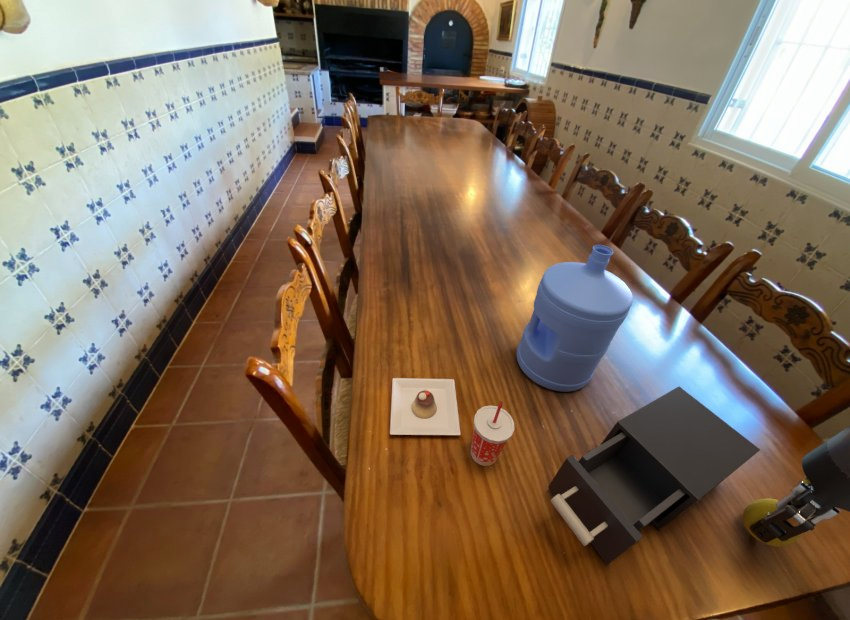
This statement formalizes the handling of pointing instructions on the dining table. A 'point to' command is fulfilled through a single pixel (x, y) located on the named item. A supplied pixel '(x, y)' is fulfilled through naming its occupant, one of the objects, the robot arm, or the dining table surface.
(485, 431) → the beverage cup
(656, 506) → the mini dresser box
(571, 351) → the water jug
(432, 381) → the dessert
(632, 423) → the dark drawer cabinet
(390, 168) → the dining table surface
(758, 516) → the lemon
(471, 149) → the dining table surface
